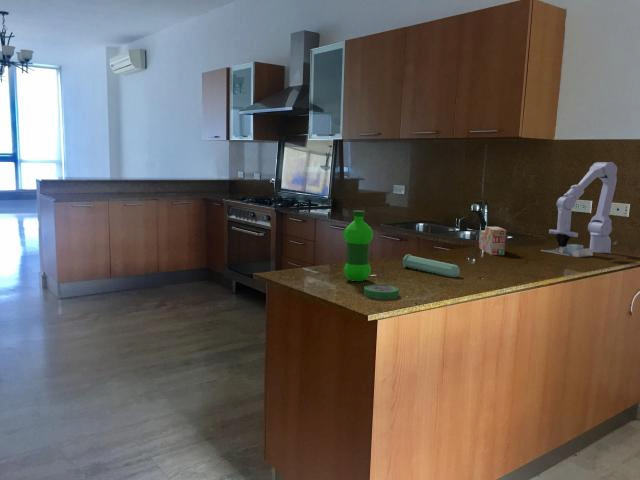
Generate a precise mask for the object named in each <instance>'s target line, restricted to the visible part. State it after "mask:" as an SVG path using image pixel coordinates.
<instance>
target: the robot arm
mask: <svg viewBox="0 0 640 480" xmlns="http://www.w3.org/2000/svg"><path fill="white" fill-rule="evenodd" d="M617 172H618V167H617V165H616V164H615V163H614V161H613V162H612V161H609V162H607V161H605V162H604V161H601V162H600V161H596V162H593V164H592V165H591V166H590V167H589V171H587V173H586V174H585V175H584V176H583V178H581V180H580V181H579V182H578V184H573V185H571V186H570V189H569V190H567V192H566V193H564V194H563V196H560V197H559V198H558V199H557V200H556V202H555V205H556V207H557V211H558V214H557V225H556V227H557V228H556V229H549V230H548V234H553V235H555V236H554V237H555V239H556V241H557V244H558V248H559V247H563V246H567V244H568V242H569V240H570V239H571V238H572V237H573V238H579V232H575V231H571V221H572V212H573V211H572V209H573V208H574V207H575V206H576V202H577V200H579V199H580V197H581V196H582V195H583V194H584V193H585V189H586V188H587V187H588V186H589V185H590V184H591V183H592V182H593V181H594V180H595V179H597V178H599V179H600V180H601V182H602V187H601V192H600V195H599V200H598V205H597V208H596V213H595V215H593V216H592V217H591V219H590V222H589V223H588V224H587V231H588V232H589V235H590V240H589V249H593V253H599V254H605V253H606V254H611V246H612V240H611V237H610V236H609V235H610V234H611V233H612V229H613V227H612V222H613V221H612V219H611V218H610V211H611V208H612V207H611V206H612V203H613V199H614V194H615V191H616V185H617V181H618V179H617Z"/></svg>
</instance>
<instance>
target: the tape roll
mask: <svg viewBox="0 0 640 480" xmlns="http://www.w3.org/2000/svg"><path fill="white" fill-rule="evenodd" d="M364 295H365V296H367V297H366V298H368V297H370V298H369V299H372V298H376V299H375V300H394V299H393V298H395V299H398V298H399V297H398V296H399V295H400V289H399V287H397V286H394V285H388V284H369V285H365V286H364V287H363V296H364Z"/></svg>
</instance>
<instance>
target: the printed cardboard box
mask: <svg viewBox="0 0 640 480" xmlns="http://www.w3.org/2000/svg"><path fill="white" fill-rule="evenodd" d="M478 236H479V237H478V248H479V249H480V250H482V251H483V252H485V253H487V254H489V255H490V256H505V250H506V249H505V247H506V238H507V237H506V236H507V229H505V228H502V227H500V226H485V227H484V230H480V229H479V232H478Z"/></svg>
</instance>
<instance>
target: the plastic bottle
mask: <svg viewBox="0 0 640 480" xmlns="http://www.w3.org/2000/svg"><path fill="white" fill-rule="evenodd" d="M365 216H366V211H365V210H352V217H353V221H352V222H350V223H349V224H348V225H347V226H346V227H345V228H344V230H343V240H344V241H345V242H346V263H345V264H344V267H343V274H344V276H345V277H346V278H347V279H348V280H349V281H350V280H354V281H362V280H364V281H365V280H367V279H368V277H369V276H370V275H371V273H372V272H371V271H372V266H371V264H370V263H369V261H370V260H369V259H370V258H369V257H370V255H369V254H370V243H371V242H372V240H373V237H374V231H373V229H372V228H371V226H369V225H368V223H367V222H365V221H364V217H365Z"/></svg>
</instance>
